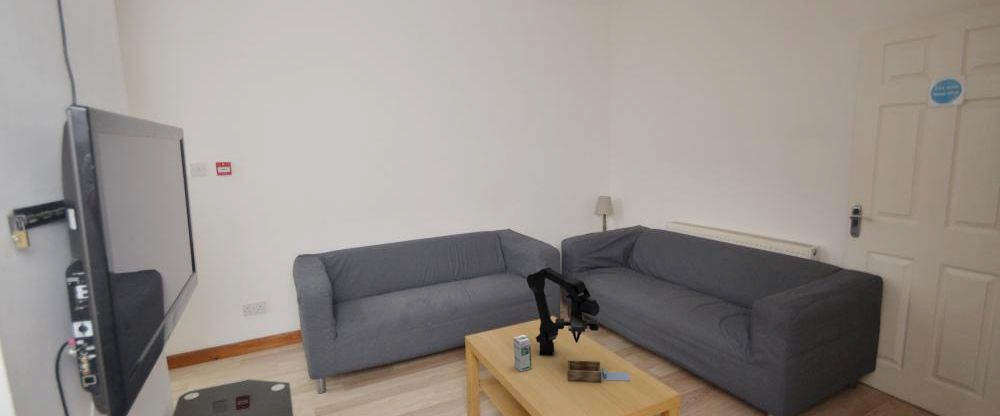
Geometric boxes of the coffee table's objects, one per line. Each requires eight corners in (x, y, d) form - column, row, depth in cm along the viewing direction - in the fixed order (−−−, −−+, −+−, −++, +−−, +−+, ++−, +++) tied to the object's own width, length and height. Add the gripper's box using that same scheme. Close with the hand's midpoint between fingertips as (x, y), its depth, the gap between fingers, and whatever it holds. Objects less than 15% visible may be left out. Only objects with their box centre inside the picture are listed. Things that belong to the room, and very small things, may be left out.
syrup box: (520, 372, 199) (519, 341, 196) (514, 366, 204) (513, 336, 202) (531, 368, 201) (530, 338, 199) (525, 363, 207) (524, 333, 204)
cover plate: (601, 381, 190) (601, 374, 190) (600, 373, 197) (600, 366, 196) (630, 382, 189) (630, 375, 188) (628, 374, 195) (628, 367, 195)
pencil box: (567, 381, 190) (567, 370, 190) (567, 370, 199) (567, 360, 198) (601, 382, 188) (601, 372, 188) (599, 371, 197) (599, 361, 196)
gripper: (554, 316, 191) (555, 350, 193) (599, 317, 188) (599, 352, 191) (555, 305, 202) (555, 338, 204) (597, 307, 199) (597, 339, 202)
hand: (576, 342), depth 200 cm, fingers closed
